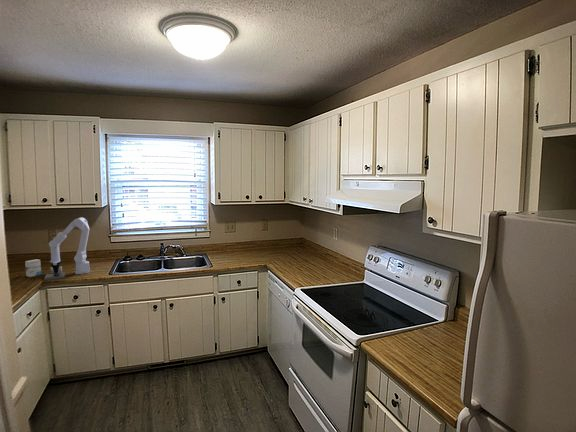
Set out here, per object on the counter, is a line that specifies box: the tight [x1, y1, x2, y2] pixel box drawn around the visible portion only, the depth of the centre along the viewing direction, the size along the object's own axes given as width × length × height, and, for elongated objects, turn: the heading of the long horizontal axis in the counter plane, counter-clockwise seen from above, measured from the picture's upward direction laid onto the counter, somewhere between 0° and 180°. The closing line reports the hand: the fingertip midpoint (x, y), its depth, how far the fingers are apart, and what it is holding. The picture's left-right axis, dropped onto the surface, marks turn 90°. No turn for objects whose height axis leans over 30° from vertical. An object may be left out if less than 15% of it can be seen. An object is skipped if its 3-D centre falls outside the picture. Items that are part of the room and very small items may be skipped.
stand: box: [43, 272, 66, 281], centre depth 260 cm, size 12×10×2 cm
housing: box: [50, 265, 63, 274], centre depth 270 cm, size 7×5×5 cm
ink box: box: [24, 259, 42, 278], centre depth 264 cm, size 8×5×12 cm, turn 152°
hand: (56, 271), depth 270 cm, fingers closed on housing, 5 cm apart
